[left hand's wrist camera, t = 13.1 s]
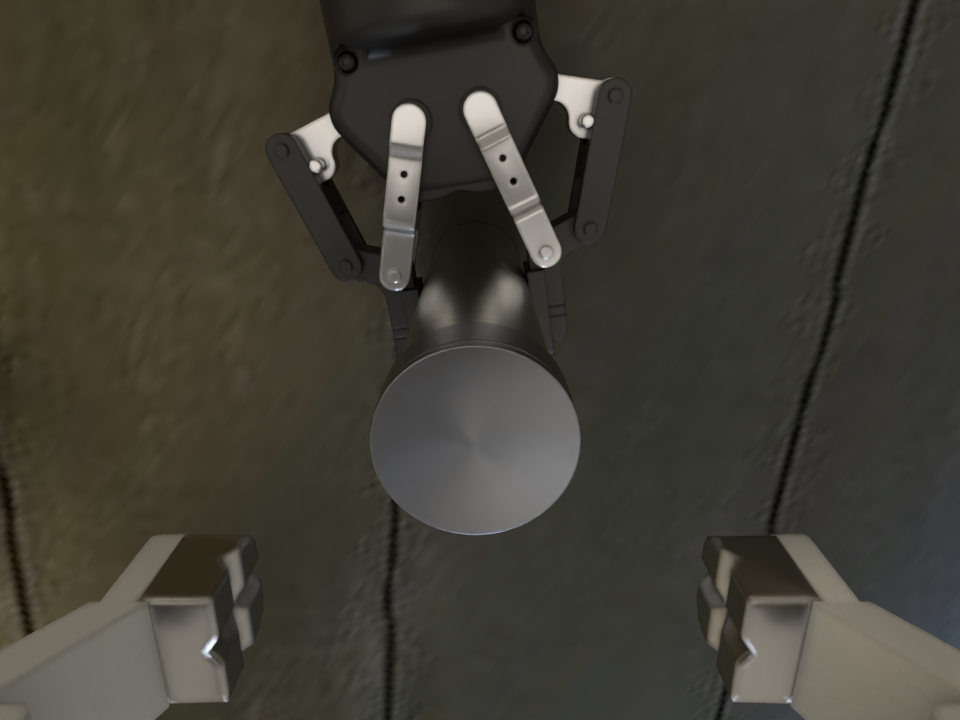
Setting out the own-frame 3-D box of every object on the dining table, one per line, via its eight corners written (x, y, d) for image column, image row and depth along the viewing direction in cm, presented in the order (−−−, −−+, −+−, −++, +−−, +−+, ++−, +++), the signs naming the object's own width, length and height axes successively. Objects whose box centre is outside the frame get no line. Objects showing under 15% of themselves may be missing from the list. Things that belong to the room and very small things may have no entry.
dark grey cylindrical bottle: (448, 209, 32) (414, 320, 14) (532, 239, 33) (599, 384, 15) (420, 291, 33) (357, 486, 16) (501, 319, 34) (528, 538, 16)
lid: (414, 293, 16) (406, 314, 14) (601, 358, 16) (615, 386, 14) (356, 463, 17) (344, 501, 15) (529, 517, 18) (535, 559, 16)
